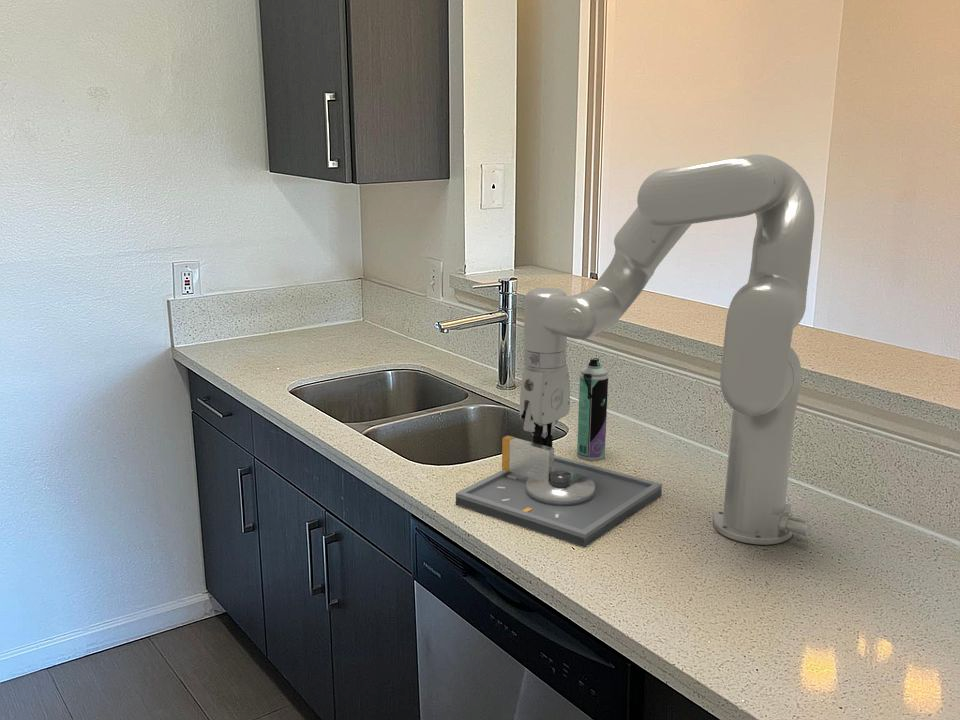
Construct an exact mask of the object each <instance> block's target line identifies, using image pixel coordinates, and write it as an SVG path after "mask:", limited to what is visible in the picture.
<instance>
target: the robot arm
mask: <svg viewBox="0 0 960 720" xmlns="http://www.w3.org/2000/svg"><path fill="white" fill-rule="evenodd" d="M636 201H637V207H636V208H635V210H634V211H633V212H632V213H631V214H630V216H629V217H628V218H627V220H626V221H625V223H623V225H622V226H621V228H620V229H619V230H618V232H617V233H616V234H615V236H614V240H613V245H614V250H615V251H614V256H613V257H612V260H611V261H610V263H609V265H608V266H607V268H606V269H605V270H604V272H603V273H602V275H601V276H600V277H599V278H598V280H597V281H596V282H595V283H594V284H593V285H592V286H591V287H590V289H587V290H585V291H582V292H579V293H577V294H573V295H567V292H565V290H562V289H558V288H553V287H552V288H551V287H539V288H538V287H537V288H533V289H529V291H527V292H526V295H525V298H524V329H523V330H524V331H523V332H524V333H523V334H524V335H523V337H524V338H523V371H522V378H521V383H520V391H519V392H520V393H519V418H520V420H521V421H522V422H523V431H526V432H530V433H531V435H532V442H533V443H537V444H541V445H545V446H548V447H552V448H553V438H554V436H553V435H554V434H555V432H556V424H557V422H558V421H560V420H561V419H563V418H564V417H566V416H567V415H568V414H569V413H570V410H571V394H570V393H571V390H570V389H571V387H570V374H569V367H568V363H567V341H568V340H567V339H568V338H570V339H572V340H587V339H590V338H591V337H593V336H595V335H598V334H599V333H601V332H603V331H604V330H605V331H606V330H607V329H609V328H611V327H612V326H614V325H615V324H616V323H617V322H618V321H619V320H620V319H621V318H622V317H623V315H624V314H625V313H626V312H627V311H628V309H629V308H630V307H631V306H632V305H633V304H634V302H635V301H636V300H637V298H638V297H639V296H640V295H641V293H642V292H643V290H644V289H645V287H646V286H647V284H648V283H649V281H650V279H651V278H652V277H653V275H654V273H655V271H656V269H657V268H658V266H659V265H660V264H661V263H662V261H663V260H664V259H665V258H666V256H667V255H668V254H669V253H670V251H671V250H673V248H674V246H675V245H676V244H677V243H678V242H679V240H680V239H681V238H682V237H683V235H684V234H685V233H686V232H687V231H688V229H689V228H690V227H691V226H692V225H693V224H701V223H708V222H713V221H714V222H715V221H720V220H729V219H735V218H742V217H747V216H751V215H753V214H755V217H756V229H755V233H754V238H753V242H752V243H753V244H752V253H751V263H750V270H749V277H748V278H747V279H748V280H747V283H746V284H744V285H743V286H742V287H740V288H739V289H738V291H737V292H735V294H734V295H733V297H732V299H731V300H730V301H731V302H730V304H729V307H728V310H727V315H726V321H725V329H724V337H723V338H724V339H723V346H722V347H723V349H722V356H721V365H720V376H719V377H720V379H719V383H720V389H721V394H722V396H723V398H724V400H725V401H726V403H727V404H728V405H729V407H731V409H732V413H731V421H730V431H729V442H728V443H729V445H728V453H727V468H726V478H725V489H724V500H723V501H724V502H723V503H724V505H723V508H722V509H720V510H718V511H717V512H716V513H714V515H713V520H712V525H713V527H714V529H715V530H716V531H717V532H718V533H720V534H721V535H723V536H724V537H727V538H729V539H731V540H734V541H737V542H741V543H745V544H751V545H760V546H761V545H762V546H763V545H766V546H768V545H776V544H781V543H784V542H786V541H788V540H790V539H791V537H792V536H793V534H797V535H800V536H804V537H808V535H809V534H810V530H811V524H809V523H808V518H805V517H801V516H796V515H794V514H793V513H792V512H791V510H792V505H791V504H788V503H787V491H788V481H789V474H790V473H789V471H790V462H791V453H792V443H793V437H794V428H795V427H794V426H795V420H796V419H795V418H796V411H797V405H798V399H799V393H800V388H801V383H802V382H801V381H802V366H801V362H800V361H801V360H800V359H799V356H798V354H797V352H796V351H795V350H794V349H793V348H792V347H791V346H792V338H793V334H794V333H793V332H794V330H795V328H796V327H797V326H799V324H800V322H801V321H802V320H803V318H804V316H805V312H806V307H807V295H808V294H807V293H808V284H809V278H810V277H809V276H810V267H811V262H812V261H811V259H812V249H813V248H812V247H813V240H814V239H813V238H814V232H815V231H814V229H815V207H814V206H815V205H814V200H813V196H812V193H811V190H810V188H809V185H808V184H807V183H806V181H805V179H804V178H803V177H802V175H801V174H800V173H799V172H798V171H797V170H796V169H794V168H793V166H791V165H789V164H788V163H787V162H785V161H783V160H781V159H779V158H777V157H774V156H771V155H768V154H758V153H757V154H749V155H744V156H738V157H732V158H726V159H722V160H716V161H710V162H705V163H700V164H699V163H698V164H694V165H689V166H683V167H682V166H681V167H679V166H678V167H671V168H670V167H669V168H665V169H664V168H663V169H660V170H656V171H655V172H653V173H651V174H650V175H648V176H647V177H646V178H645V179H644V180H643V182H642V184H641V185H640V187H639V188H638V192H637V199H636Z"/></svg>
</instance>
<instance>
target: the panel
mask: <svg viewBox="0 0 960 720" xmlns="http://www.w3.org/2000/svg"><path fill="white" fill-rule="evenodd" d="M554 471H566V472H572V473H577V474H580V475H583V476H586V477H588V478H589V479H591V480H592V481H593V482H594V484H595V495H594V497H593V498H592V499H591V500H589V501H587V502H585V503H582V504H577V505H569V506H558V505H550V504H545V503H541V502H538V501H536V500H534V499H532V498H530V497H529V496H528V495H527V493H526V482H527V480H528V479H529V478H530V477H527V476H523V475H520V474H517V473H513V472H510V471H509V472H508V471H505V470H502V469H501V470H500V471H498V472H496V473H494V474H491V475H489V476H488V477H486V478H483V479H482V480H479V481H478V482H475V483H474V484H471V485H469V486H467V487H465V488H463V489H461V490H460V491H457V492H455V505H456V506H458V505H459V506H458V507H461V506H462V508H464V507H465V509H467V508H468V510H470V509H471V511H473V510H474V512H476V513H479V512H480V514H482V513H483V515H485V514H486V516H489V517H491V516H492V517H491V518H494V519H496V520H497V519H498V520H500V521H504V522H507V523H509V524H512V525H517V526H519V527H522V528H525V529H529V530H531V531H534V532H537V533H540V534H543V535H546V536H549V537H552V538H555V539H559V540H562V541H564V542H567V543H570V544H573V545H577V546H579V547H582V548H586V547H587V546H589V545H590V544H592V543H593V542H595V541H596V540H597V539H600V538H601V537H602V536H604V535H605V534H607V532H610V531H611V530H612V529H614V528H615V527H617V526H618V525H620V524H622V523H623V522H625V520H628V519H629V518H630V517H632V516H633V515H634V514H636V513H638V512H639V511H641V510H642V509H643V508H645V507H647V506H648V505H650V504H651V503H653V502H654V501H656V500H657V499H658V498H660V497H661V496H662V493H663V492H662V489H663V484H662V483H660V482H656V481H653V480H649V479H645V478H642V477H637V476H635V475H630V474H627V473H624V472H623V473H622V472H619V471H616V470H615V471H614V470H611V469H607V468H603V467H601V466H597V465H593V464H589V463H585V462H581V461H578V460H574V459H570V458H567V457H562V456H561V455H560V456H559V455H555V454H554Z"/></svg>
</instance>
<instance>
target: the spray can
mask: <svg viewBox="0 0 960 720" xmlns="http://www.w3.org/2000/svg"><path fill="white" fill-rule="evenodd" d="M578 388H579V389H578V390H579V393H578V395H579V396H578V418H577V419H578V420H577V422H578V423H577V446H576V448H577V449H576V451H577V452H576V457H578V459H581V460H584V461H586V462H587V461H588V462H596V461H597V462H598V461H601V460H603V459H605V456H606V440H607V435H606V434H607V413H608V395H609V394H608V393H609V392H608V391H609V370H608V369H605V368H604V367H603V365H602V364H601V362H600V359H599V358H597V357H595V358H591V359H590V360H589V362H588V364H587V365H586V366H585V367H583V368H581V369H580V373H579V387H578Z"/></svg>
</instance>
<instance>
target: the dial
mask: <svg viewBox="0 0 960 720" xmlns="http://www.w3.org/2000/svg"><path fill="white" fill-rule="evenodd" d="M501 441H502V443H501V444H502V445H501V447H502V448H501V449H502V450H501V471H502V470H505V471H508V472H509V471H510V472H513V473H517V474H520V475H523V476H527V477H530V478H529V479H528V480H527V482H526V493H527V495H528V496H529V497H530V498H532V499H534V500H536V501H538V502H541V503H545V504H550V505H558V506H569V505H577V504H582V503H585V502H587V501H589V500H591V499H592V498H593V497H594V495H595V484H594V482H593V481H592V480H591V479H589V478H588V477H586V476H583V475H580V474H577V473H572V472H566V471H554V455H555V447H553V446H552V447H548V446H545V445H541V444H537V443H533V441H529V440H525V439H521V438H517V437H515V436H512V435H505V436H504V437H502V439H501Z"/></svg>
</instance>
